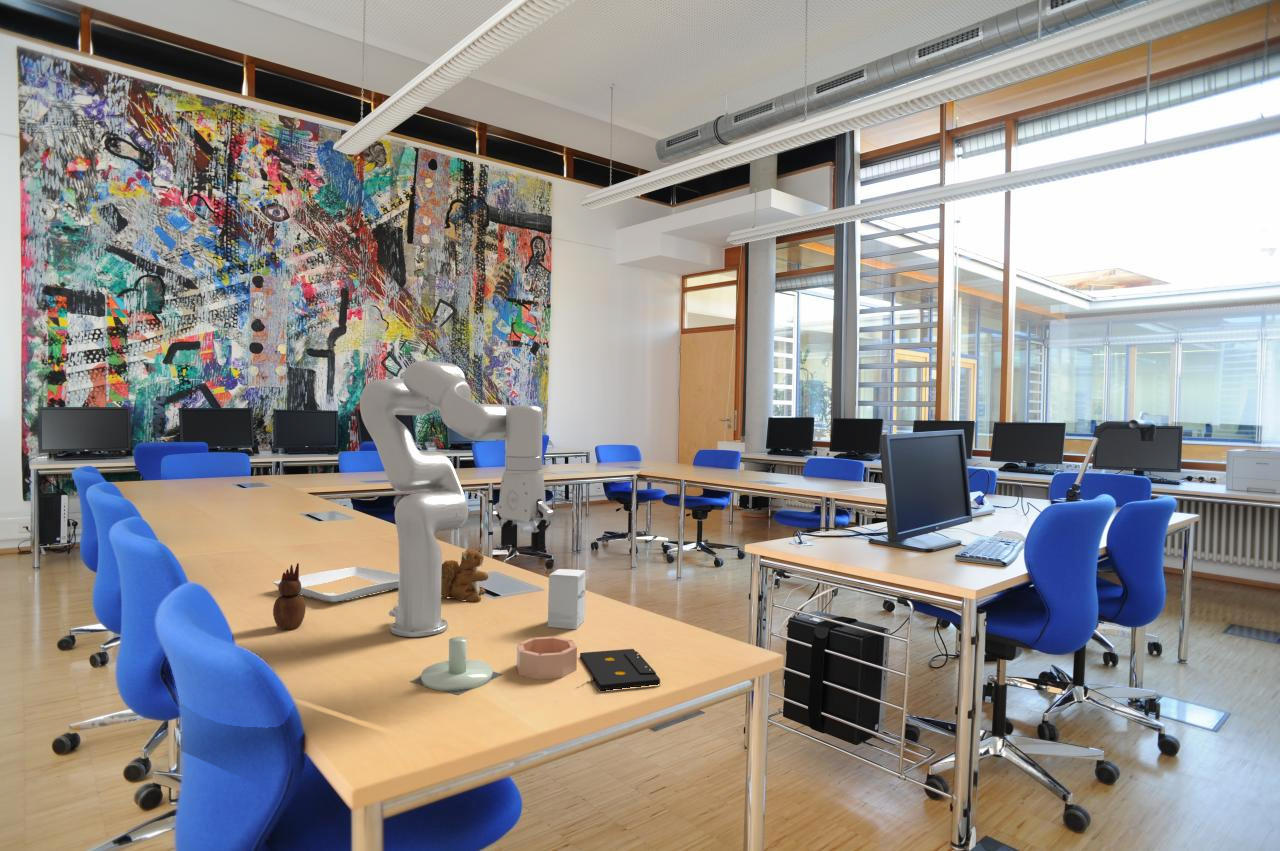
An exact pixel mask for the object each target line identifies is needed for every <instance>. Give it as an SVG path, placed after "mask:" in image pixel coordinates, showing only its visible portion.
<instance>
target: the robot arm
mask: <svg viewBox="0 0 1280 851" xmlns="http://www.w3.org/2000/svg"><path fill="white" fill-rule="evenodd" d="M471 395H472V392H471V387H470V385H469V384H468V383H467V382H466V377H465V374H464V372H463V370H462V369H461V367H459V366H458V365H456V364H454V363H449V362H440V361H433V360H432V361H431V360H420V361H419V360H418V361H415V362H412V363H410V364H409V365H408V366H407V367H406V368H405V369H404V372H403V375H402V379H392V378H391V379H388V378H387V379H386V378H385V379H383V378H382V379H376V380H374V381H370V382H369V383H368V384H366V385H365V387H364V388H363V390H362V392H361V395H360V399H359V410H360V415H361V420H362V423H363V424H364V426H365V428H366V430H367V432H368V434H369V435H370V437H371V439H372V440H373V443H374V444H375V447H376V449H377V452H378V455H379V459H380V461H381V463H382V466H383V467H382V468H383V469H384V472H385V476H386V477H387V480H388V482H389V484H390V486H391V487H392V489H393V490H394V491H396V492H399V493H411V494H408V495H406V496H403V497H402V498H401V499H400V500H399V501H398V502H397V504H396V505H395V510H394V520H395V526H396V532H397V533H396V534H397V538H398V539H397V540H398V574H399V588H398V592H397V593H398V594H397V595H398V597H397V598H398V600H397V602H398V603H397V605H394V607H393V608H392V609H390V610H389V612H388V615H389V616H390V617H394V619H395V620H394V623H392V624H391V625H390V632H391V634H393V635H396V636H399V637H405V638H406V637H407V638H417V637H418V638H420V637H426V636H427V637H428V636H434V635H438V634H441V633H442V632H444V631H446V630H447V629H448V628H449V627H448V626H449V625H448V623H449V622H448V621H447V620H446V619H443V618H442V595H441V575H442V564H443V563H442V562H443V561H442V560H443V556H442V555H443V554H442V553H443V552H442V548H441V546H440V543H439V541H438V540H437V537H436V536H435V533H438V532H440V533H441V532H444V531H445V532H446V531H452V530H456V529H459V528H461V527H463V525H464V524H466V522H467V520H468V517H469V505H468V500H467V498H466V496H465V492H464V491H463V487H462V485H461V483H460V479H459V477H458V475H457V473H456V469H455V468H454V465H453V463H452V461H451V460H450V459H449V457H447V455H445V453H443V452H439V451H421V450H420V449H418V447H417V445H416V443H415V440H414V437H413V435H412V434H411V431H410V430H409V429H408V428H407V426H406V425H405V424H404V423H403V422H401V421H400V420H399V419H398V418H397V417H396V415H397V416H425V415H428V414H431V413H432V412H435V411H438V410H439V413H440V414H439V415H440V418H441V419H442V421H443V423H444V425H445V426H446V427H447V428H449V429H451V431H454V432H456V433H457V434H459V435H460V436H462V437H464V438H467V439H469V440H473V441H474V440H475V441H488V440H489V441H492V440H493V441H494V440H495V441H505V443H504V444H505V445H504V447H505V448H504V449H505V451H504V454H505V456H504V458H505V459H504V460H505V462H504V463H505V465H504V466H505V467H504V468H505V470H504V471H503V472H502V477H501V480H500V488H499V499H498V500H499V501H498V502H497V503H495V504H494V507H495V511H496V516H497V519H498V521H499V522H498V524H499V527H500V530H501V531H500V546H502V547H505V546H506V547H507V546H511V545H512V546H513V545H515V542H516V525H514V523H515V522H519V523H528V522H529V525H530V526H531V528H532V530H533V531H532V532H531V537H530V540H531V542H530V544H531V545H530V546H531V548H530V550H531V553H539V552H544V551H545V549H546V532H547V531H548V529H549V526H550V525H551V521H552V518H553V516H554V511H553V510H552V509H551V507H549V506H548V505H547V504H546V489H545V479H544V473H543V425H544V424H543V414H544V413H543V411H542V408H541V407H539V406H537V405H525V404H524V405H522V404H520V405H510V404H497V403H496V404H495V403H476V402H474V401H471V397H472V396H471ZM427 491H428V492H427Z"/></svg>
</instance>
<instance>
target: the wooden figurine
mask: <svg viewBox="0 0 1280 851" xmlns="http://www.w3.org/2000/svg"><path fill="white" fill-rule="evenodd" d="M299 571H300V564H299V562H296V565H295V569H294V568H293V564H290V568H289V569H288V568H287V569H286V571H285V572H283V573H282V575H281V576H282V577H281V579H280V580H281V582H280V583H279V587H278V586H277V588H278V593H279V595H280V596H277V597H276V599H275V602H274V603H273V609H272V616H273V619H274V623H275V625H276V626H277V627H278V628H280V629H282V630H293V629H294V630H295V629H297V628H299V627H301V625H302V623H303V622H304V619H305V614H306V607H307V606H306V602H305V598H304V596H303V595H299V593H300V591H301V582H300V581H299V576H300V572H299Z"/></svg>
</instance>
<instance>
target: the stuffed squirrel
mask: <svg viewBox="0 0 1280 851" xmlns="http://www.w3.org/2000/svg"><path fill="white" fill-rule="evenodd" d="M460 558H461V561H460V564H459V562H458V560H457V561H456V560H453V559H451V560H450V559H449V560H444V562H443V563H442V575H441V597H443V598H445V599H447V597H455V598H454V599H456V598H457V600H458V599H460V600H459V601H462V600H466V601H465V602H467V601H479V602H481V600H482V597H481V595H479V594H482V593H484V592H485V593H486V590H485V588H483V587H480V583H479V582H483V581H487V580H488V579H489V574H488V573H487V572H486V571H482V570H478V568H479V567H480V566H481V567H483V563H484V558H485V557H484V555H483V553H481V552H479V550H477V549H474V548H469V549H466V550H464V551H462V552H461V557H460ZM485 593H484V594H485ZM482 595H483V594H482Z"/></svg>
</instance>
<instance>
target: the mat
mask: <svg viewBox="0 0 1280 851" xmlns="http://www.w3.org/2000/svg"><path fill="white" fill-rule="evenodd" d="M503 675H504V673H500V672H497V671H493V677H492V679H491V680H490V681H492V680H494V679H497V678H498V677H501V676H503ZM409 682H410V683H413V684H416V685H420V686H423V687H425V686H424V685H423V684H422V683H421V676H420V677H417V678H414V679H412V680H410V681H409ZM473 689H474V688H472V689H467V690H460V691H444V692H446V693H449V694H452V695H456V696H460V695H462V694H464V693H466V692H469V691H471V690H473Z"/></svg>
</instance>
